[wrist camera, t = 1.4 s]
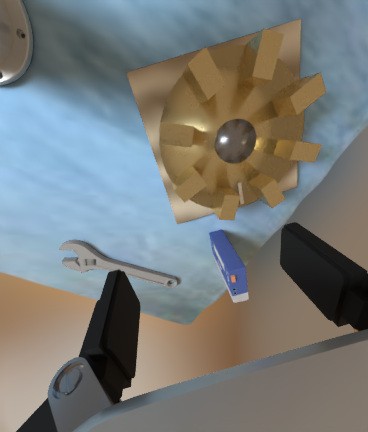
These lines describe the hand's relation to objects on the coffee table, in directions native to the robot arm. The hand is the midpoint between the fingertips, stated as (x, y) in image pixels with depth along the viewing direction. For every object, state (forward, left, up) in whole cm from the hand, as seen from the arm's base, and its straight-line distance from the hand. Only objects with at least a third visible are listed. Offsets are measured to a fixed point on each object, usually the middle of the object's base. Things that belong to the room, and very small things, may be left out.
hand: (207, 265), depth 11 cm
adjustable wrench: (+17, -16, -25) cm, 34 cm away
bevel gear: (-3, +10, -22) cm, 25 cm away
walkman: (+18, +5, -24) cm, 31 cm away
